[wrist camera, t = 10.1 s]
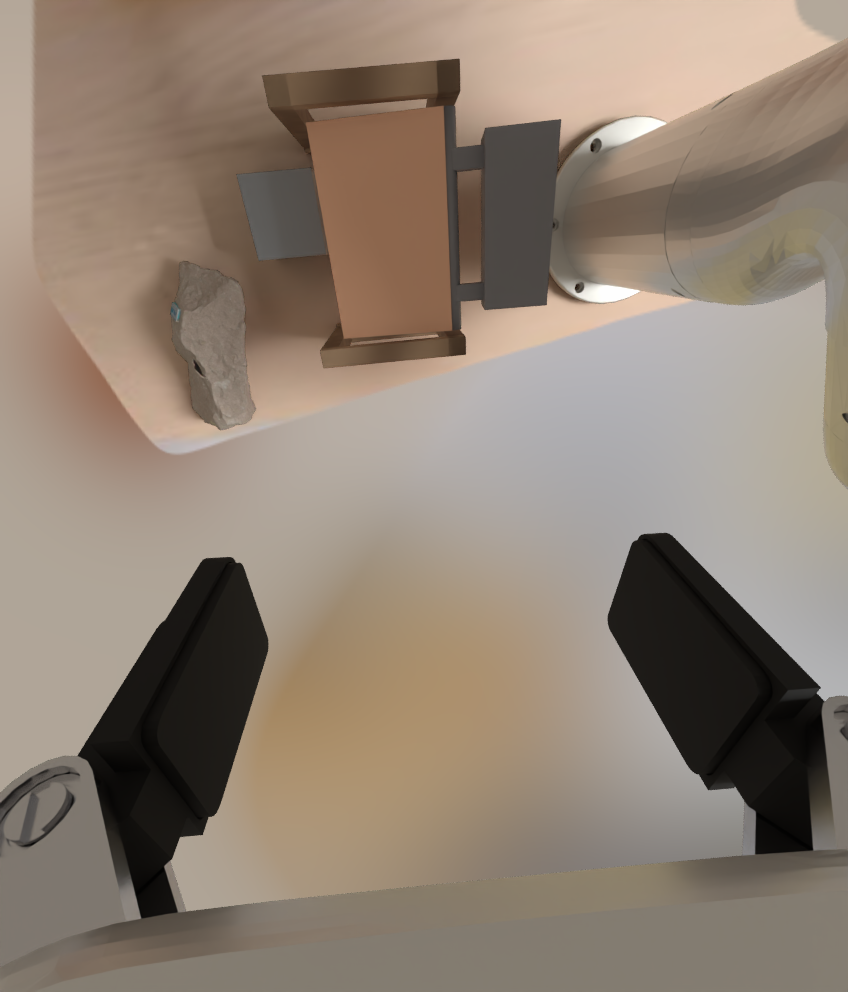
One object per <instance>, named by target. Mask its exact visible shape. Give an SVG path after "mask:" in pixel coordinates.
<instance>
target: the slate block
mask: <svg viewBox="0 0 848 992" xmlns="http://www.w3.org/2000/svg"><path fill="white" fill-rule="evenodd" d="M236 175H237V179H238V182H239V186H240V190H241V194H242V198H243V202H244V206H245V209H246V213H247V217H248V221H249V225H250V229H251V233H252V236H253V240H254V244H255V248H256V252H257V256H258V260H259V261H261V260H273V259H284V258H295V257H305V256H316V255H327V254H329V251H328V246H327V240H326V234H325V229H324V223H323V217H322V212H321V206H320V200H319V195H318V189H317V183H316V178H315V172H314V170H313V169H312V168H301V169H290V170H279V171H268V172H257V173H246V174H236Z"/></svg>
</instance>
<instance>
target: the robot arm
mask: <svg viewBox="0 0 848 992" xmlns="http://www.w3.org/2000/svg"><path fill="white" fill-rule="evenodd" d="M591 144H592V145H593V146H594V150H593V152H591V150H590V145H591ZM549 273H550V275H551V276H552V278H553V279H554V281H555V282H556V283H557V285H558V286H559V287H560V288H561V289H563V290H564V291H565V292H566V293H567V294H569V295H571V296H573V297H575V298H576V299H578V300H582V301H585V302H590V303H598V304H604V303H614V302H617V301H620V300H624V299H627V298H629V297H631V296H633V295H635V294H637V293H639V292H640V291H645V292H651V293H657V294H663V295H669V296H675V297H681V298H687V299H693V300H699V301H705V302H715V303H721V304H727V305H728V304H729V305H755V304H763V303H768V302H771V301H775V300H779V299H782V298H785V297H788V296H791V295H794V294H796V293H798V292H801V291H803V290H805V289H807V288H809V287H811V286H813V285H815V284H816V283H818V282H820V281H822V280H824V279H825V285H826V315H825V327H826V331H827V354H826V374H825V375H826V377H825V395H824V396H825V397H824V418H823V436H824V448H825V454H826V457H827V460H828V463H829V466H830V468H831V470H832V471H833V473H834V475H835V476H836V477H837V478H838V480H839V481H840V482H841V483H842V484H843V485H844V486H845V487H846V488H847V489H848V38H846V39H844V40H842V41H840V42H839V43H837V44H835V45H833V46H831V47H829V48H827V49H825V50H823V51H821V52H819V53H817V54H815V55H813V56H811V57H809V58H807V59H804V60H802V61H800V62H798V63H796V64H794V65H792V66H790V67H787V68H785V69H783V70H781V71H779V72H777V73H775V74H772V75H770V76H768V77H766V78H764V79H762V80H760V81H758V82H756V83H754V84H752V85H749V86H747V87H745V88H743V89H741V90H739V91H736V92H734V93H732V94H730V95H728V96H726V97H723V98H721V99H719V100H717V101H715V102H713V103H710V104H708V105H706V106H704V107H702V108H700V109H697V110H695V111H693V112H691V113H689V114H687V115H684V116H682V117H680V118H678V119H676V120H674V121H671V122H669V123H667V122H666V121H663V120H660V119H657V118H654V117H651V116H631V117H627V118H622V119H618V120H616V121H614V122H612V123H610V124H607V125H605V126H603V127H602V128H600V129H598V130H597V131H595V132H594V133H592V134H591V135H589V136H588V137H587V138H586V139H585V140H584V141H582V142H581V143H580V144H579V145H578V146H577V147H576V148H575V149H574V150H573V152H572V153H571V154H570V155H569V156H568V158H567V159H566V160H565V161H564V163H563V165H562V166H561V168H560V170H559V171H558V173H557V178H556V191H555V203H554V216H553V229H552V242H551V255H550V267H549ZM576 284H578V288H577V289H576V290H575V285H576ZM608 625H609V629H610V631H611V632H612V634H613V636H614V638H615V639H616V641H617V643H618V645H619V647H620V648H621V650H622V652H623V654H624V655H625V657H626V659H627V661H628V662H629V664H630V666H631V668H632V669H633V671H634V673H635V675H636V676H637V678H638V680H639V682H640V683H641V685H642V687H643V689H644V690H645V692H646V694H647V696H648V697H649V699H650V701H651V702H652V704H653V706H654V708H655V710H656V711H657V713H658V715H659V717H660V718H661V720H662V722H663V724H664V725H665V727H666V729H667V731H668V732H669V734H670V736H671V737H672V739H673V741H674V743H675V745H676V746H677V748H678V750H679V752H680V753H681V755H682V757H683V758H684V760H685V762H686V764H687V765H688V767H689V768H690V769H691V770H692V771H693V772H694V773H696V774H699V775H700V777H701V779H702V780H703V782H704V784H705V786H706V787H707V789H708V790H717V789H728V788H734V787H736V788H737V790H738V792H739V793H740V795H741V796H742V798H743V799H744V802H745V803H744V824H743V847H742V856H732V857H722V858H711V859H700V860H688V861H678V862H667V863H657V864H645V865H635V866H623V867H613V868H601V869H591V870H580V871H570V872H560V873H549V874H539V875H530V876H520V877H519V876H518V877H508V878H498V879H488V880H477V881H467V882H457V883H447V884H436V885H426V886H416V887H406V888H396V889H386V890H377V891H367V892H357V893H347V894H337V895H328V896H318V897H308V898H298V899H289V900H279V901H269V902H261V903H253V904H245V905H236V906H228V907H221V908H213V909H204V910H196V911H188V912H186V909H185V906H184V902H183V899H182V896H181V893H180V890H179V887H178V884H177V880H176V877H175V874H174V871H173V868H172V865H171V862H170V860H171V859H172V858H173V855H174V852H175V849H176V846H177V844H178V841H179V838H180V837H184V836H195V835H203V832H204V829H205V826H206V823H207V820H208V817H212V816H214V815H215V814H216V813H217V810H218V809H219V806H220V804H221V801H222V798H223V794H224V791H225V788H226V784H227V781H228V778H229V775H230V772H231V769H232V765H233V762H234V759H235V755H236V753H237V749H238V746H239V743H240V740H241V736H242V733H243V730H244V727H245V724H246V720H247V717H248V714H249V711H250V707H251V704H252V701H253V698H254V695H255V691H256V688H257V685H258V682H259V678H260V675H261V672H262V669H263V666H264V662H265V659H266V656H267V652H268V637H267V634H266V631H265V628H264V626H263V622H262V620H261V617H260V614H259V611H258V608H257V605H256V602H255V599H254V597H253V593H252V590H251V588H250V585H249V582H248V579H247V576H246V573H245V570H244V567H243V565H242V564H241V563H236V562H235V560H234V559H233V558H231V557H223V558H206V559H204V560H203V561H202V562H201V563H200V565H199V566H198V568H197V570H196V571H195V573H194V574H193V576H192V578H191V579H190V581H189V582H188V584H187V586H186V587H185V589H184V591H183V592H182V594H181V596H180V597H179V599H178V600H177V602H176V604H175V605H174V607H173V608H172V610H171V612H170V613H169V615H168V617H167V618H166V620H165V621H163V622H162V623H161V624H160V625H159V627H158V628H157V629H156V631H155V632H154V634H153V635H152V637H151V639H150V640H149V642H148V643H147V645H146V647H145V648H144V650H143V651H142V653H141V655H140V657H139V658H138V660H137V661H136V663H135V665H134V666H133V668H132V669H131V671H130V672H129V674H128V676H127V678H126V679H125V680H124V682H123V684H122V685H121V687H120V688H119V690H118V692H117V693H116V695H115V697H114V698H113V700H112V701H111V703H110V704H109V706H108V708H107V709H106V711H105V713H104V714H103V716H102V717H101V719H100V721H99V722H98V724H97V725H96V727H95V728H94V730H93V732H92V733H91V735H90V736H89V738H88V740H87V741H86V743H85V745H84V746H83V748H82V749H81V751H80V753H79V754H78V756H62V757H58V758H55V759H51V760H48V761H46V762H44V763H42V764H40V765H38V766H36V767H34V768H31V769H30V770H28V771H27V772H25V773H24V774H22V775H21V776H20V777H18V778H17V779H15V780H14V781H13V782H11V783H10V784H9V785H8V786H7V787H6V788H5V789H4V790H3V791H2V792H0V992H848V697H847V696H835V697H830V698H828V699H827V700H826V701H825V702H824V701H823V699H821V697H820V696H819V695H818V694H817V691H818V690H819V689H820V688H821V687H820V686H819V685H818V684H817V683H816V682H815V681H814V680H813V679H812V678H811V677H810V676H809V675H808V674H807V673H806V672H805V671H804V670H803V669H802V668H801V667H800V666H799V665H798V664H797V663H796V662H795V661H794V660H793V659H792V658H791V657H790V656H789V655H788V654H787V653H786V652H785V651H784V650H783V649H782V648H781V646H780V645H779V644H777V642H775V640H774V639H773V638H772V637H771V636H770V635H769V634H768V633H767V632H766V631H765V630H764V629H763V628H762V627H761V626H760V625H759V624H758V623H757V622H756V621H755V620H754V619H753V618H752V617H751V616H750V615H749V614H748V613H747V612H746V611H745V610H744V609H743V608H742V607H741V606H740V605H739V604H738V602H737V601H736V600H735V599H734V598H733V597H731V596H730V594H729V593H728V592H727V591H726V590H725V589H724V588H723V587H722V586H721V585H720V584H719V583H718V582H717V581H716V580H715V579H714V578H713V577H712V576H711V575H710V574H709V573H708V572H707V571H706V570H705V569H704V568H703V567H702V566H701V565H700V564H699V563H698V562H697V561H696V560H695V559H694V558H693V556H691V554H690V553H689V552H688V551H687V550H686V549H685V548H684V547H683V546H682V545H681V544H680V543H679V542H678V541H677V540H676V539H675V538H674V537H673V536H672V535H670V534H668V533H656V534H643V535H641V536H640V537H639V538H638V540H637V541H634V542H633V543H632V545H631V548H630V551H629V554H628V557H627V560H626V563H625V566H624V569H623V572H622V575H621V578H620V581H619V584H618V587H617V590H616V593H615V596H614V599H613V602H612V605H611V608H610V611H609V614H608Z"/></svg>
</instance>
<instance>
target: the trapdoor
mask: <svg viewBox="0 0 848 992" xmlns="http://www.w3.org/2000/svg"><path fill="white" fill-rule="evenodd" d="M306 127H307V132H308V138H309V144H310V149H311V155H312V161H313V166H314V172H315V178H316V183H317V189H318V195H319V200H320V206H321V212H322V217H323V223H324V229H325V234H326V240H327V246H328V251H329V257H330V263H331V268H332V274H333V280H334V285H335V291H336V297H337V303H338V308H339V314H340V320H341V325H342V331H343V337H344V339H347V338H360V337H373V336H387V335H400V334H413V333H427V332H440V331H452V330H460V329H461V303H460V301H473V300H481V304H482V306H483V308H484V309H485V310H490V309H503V308H516V307H528V306H541V305H547V293H548V280H549V267H550V255H551V242H552V229H553V216H554V203H555V191H556V178H557V165H558V152H559V140H560V127H561V119H559V120H550V121H541V122H533V123H524V124H516V125H507V126H499V127H490V128H485V131H484V134H483V137H482V140H481V145H475V146H467V147H458V148H456V116H455V106H453V105H447V106H437V107H428V108H420V109H412V110H404V111H396V112H388V113H379V114H371V115H363V116H355V117H347V118H338V119H330V120H322V121H314V122H306ZM480 169H481V282H477V283H465V284H460V266H459V228H458V191H457V172H462V171H471V170H480Z"/></svg>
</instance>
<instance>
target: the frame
mask: <svg viewBox="0 0 848 992" xmlns="http://www.w3.org/2000/svg"><path fill="white" fill-rule="evenodd" d="M262 78H263V82H264V87H265V92H266V97H267V101H268V106H269V108H270V110H271V111H272V112H273V113H274V114H275V115H276V116H277V118H278V119H279V120H280V121H281V122H282V123H283V124H284V126H285V127H286V128H287V129H288V130H289V131H290V133H291V134H292V135H293V136H294V137H295V138H296V139H297V141H298V142H299V143H300V144H301V145H302V146H303V148H304V150H305V153H311V149H310V144H309V138H308V132H307V127H306V122H314V120H313V118H312V117H311V115H310V113H309V112H308V110H307V109H313V108H325V107H336V106H348V105H359V104H371V103H382V102H394V101H405V100H417V99H427V104H426V108H428V107H437V106H447V105H453V106H454V104H455V102H456V100H457V97H458V95H459V93H460V59H451V60H439V61H427V62H416V63H404V64H392V65H381V66H369V67H357V68H346V69H334V70H322V71H311V72H299V73H287V74H275V75H264V76H262ZM433 334H438V336H439V337H435V338H425V339H415V340H404V341H394V342H383V343H373V344H363V345H352V346H350V344H351V342H361V341H371V340H381V339H392V338H402V337H413V336H423V335H433ZM320 354H321V359H322V363H323V368H333V367H343V366H353V365H364V364H374V363H384V362H395V361H405V360H415V359H425V358H436V357H446V356H456V355H466V337H465V336H464V334H463V333H462V332H461V331H460V330H452V331H440V332H427V333H413V334H400V335H387V336H373V337H360V338H347V339H344V337H343V331H342V325H341V324H337V328H336V329H335V331H334V332H333V333H332V335H331V336H330V338H329V339H328V340H327V342H326V343H325V345H324V346H323V347H322V349H321V350H320Z"/></svg>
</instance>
